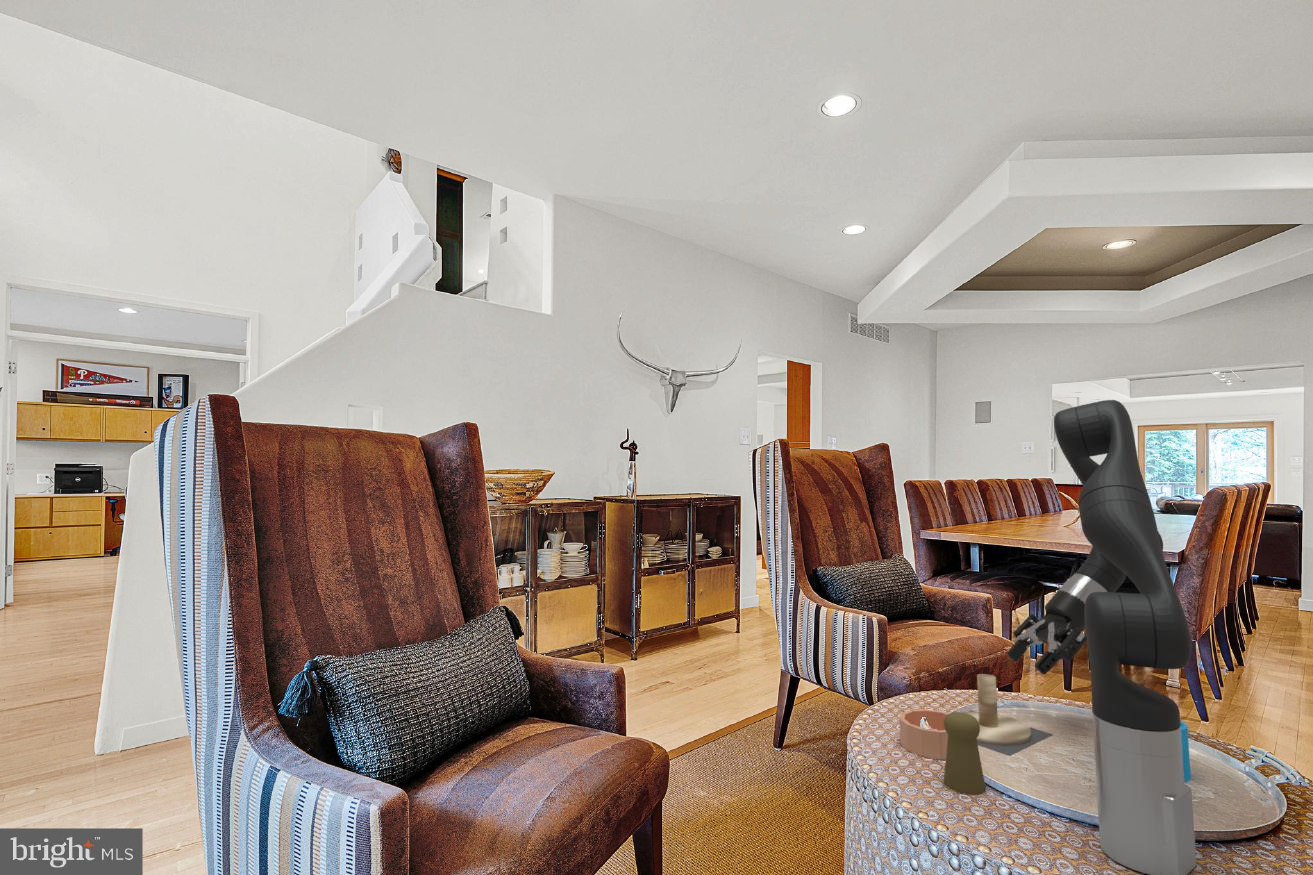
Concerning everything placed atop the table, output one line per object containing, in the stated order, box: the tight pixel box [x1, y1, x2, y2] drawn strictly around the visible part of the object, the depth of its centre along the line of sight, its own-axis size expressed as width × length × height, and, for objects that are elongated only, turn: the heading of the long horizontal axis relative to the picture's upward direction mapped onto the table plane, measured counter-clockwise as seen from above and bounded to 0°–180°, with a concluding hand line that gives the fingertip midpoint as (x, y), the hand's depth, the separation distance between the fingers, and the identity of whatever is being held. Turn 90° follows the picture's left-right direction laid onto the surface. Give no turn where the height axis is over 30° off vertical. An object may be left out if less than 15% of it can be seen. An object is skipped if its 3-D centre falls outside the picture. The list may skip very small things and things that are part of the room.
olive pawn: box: [943, 711, 987, 795], centre depth 102 cm, size 6×6×11 cm
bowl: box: [899, 708, 950, 761], centre depth 116 cm, size 11×11×5 cm
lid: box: [961, 673, 1031, 746], centre depth 123 cm, size 14×14×10 cm
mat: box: [967, 709, 1054, 757], centre depth 123 cm, size 16×16×1 cm
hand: (1024, 664), depth 124 cm, fingers open, 8 cm apart
